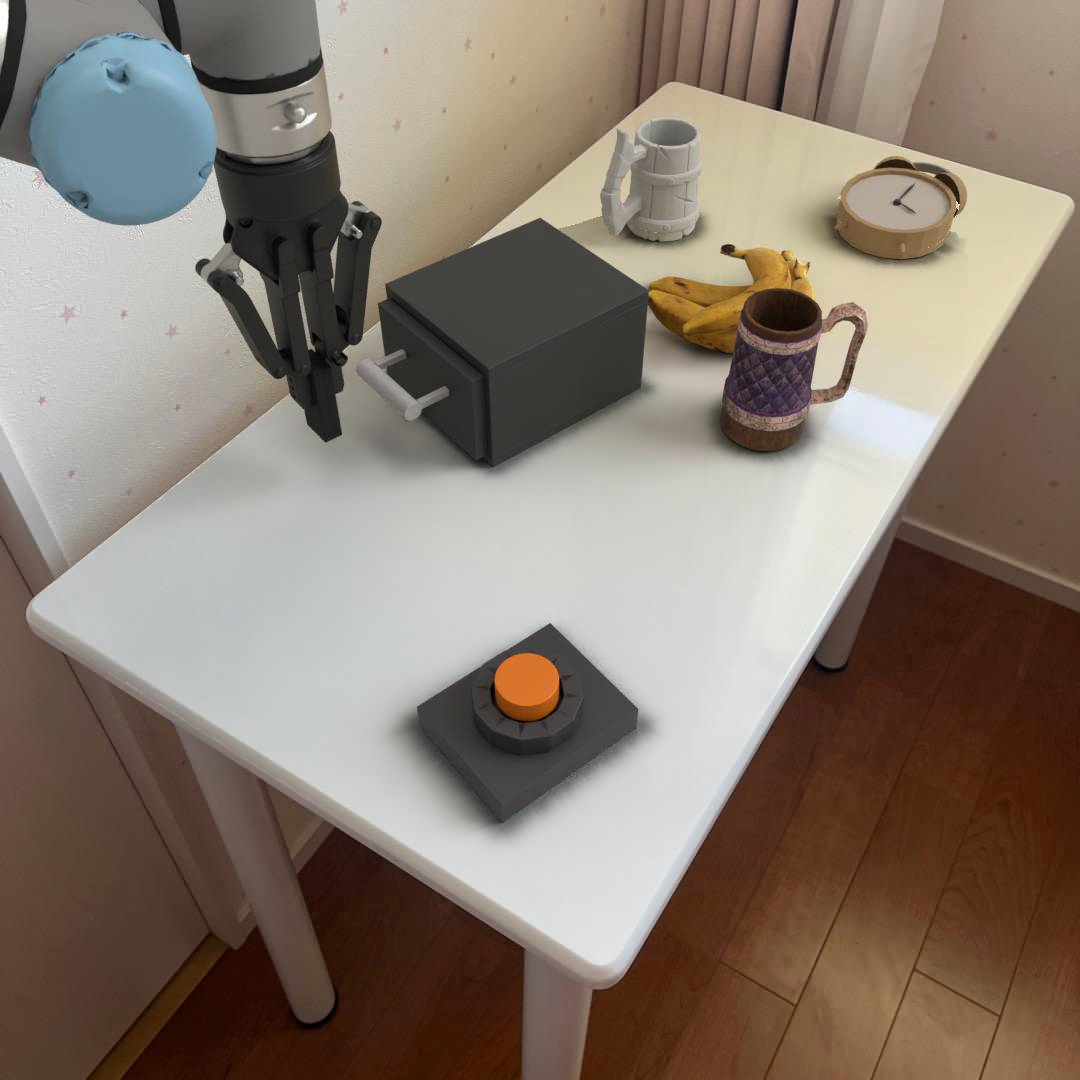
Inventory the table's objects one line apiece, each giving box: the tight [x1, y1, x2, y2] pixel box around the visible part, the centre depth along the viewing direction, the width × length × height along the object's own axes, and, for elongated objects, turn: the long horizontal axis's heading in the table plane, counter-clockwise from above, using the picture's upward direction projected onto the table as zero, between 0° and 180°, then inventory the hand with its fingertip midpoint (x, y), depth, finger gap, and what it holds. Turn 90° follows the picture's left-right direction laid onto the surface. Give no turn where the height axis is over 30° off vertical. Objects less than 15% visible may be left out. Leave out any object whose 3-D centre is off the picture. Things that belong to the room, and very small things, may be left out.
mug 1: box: [599, 116, 703, 243], centre depth 108 cm, size 8×12×12 cm, turn 128°
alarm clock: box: [833, 155, 968, 260], centre depth 112 cm, size 11×5×15 cm
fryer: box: [384, 217, 650, 468], centre depth 92 cm, size 16×14×10 cm
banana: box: [648, 243, 816, 354], centre depth 101 cm, size 15×19×6 cm
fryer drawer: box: [355, 298, 488, 461], centre depth 90 cm, size 19×13×8 cm
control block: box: [416, 622, 639, 824], centre depth 71 cm, size 11×9×4 cm
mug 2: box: [719, 288, 869, 452], centre depth 88 cm, size 10×7×12 cm
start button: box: [494, 653, 559, 721], centre depth 69 cm, size 4×4×2 cm
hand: (324, 429), depth 84 cm, fingers closed
